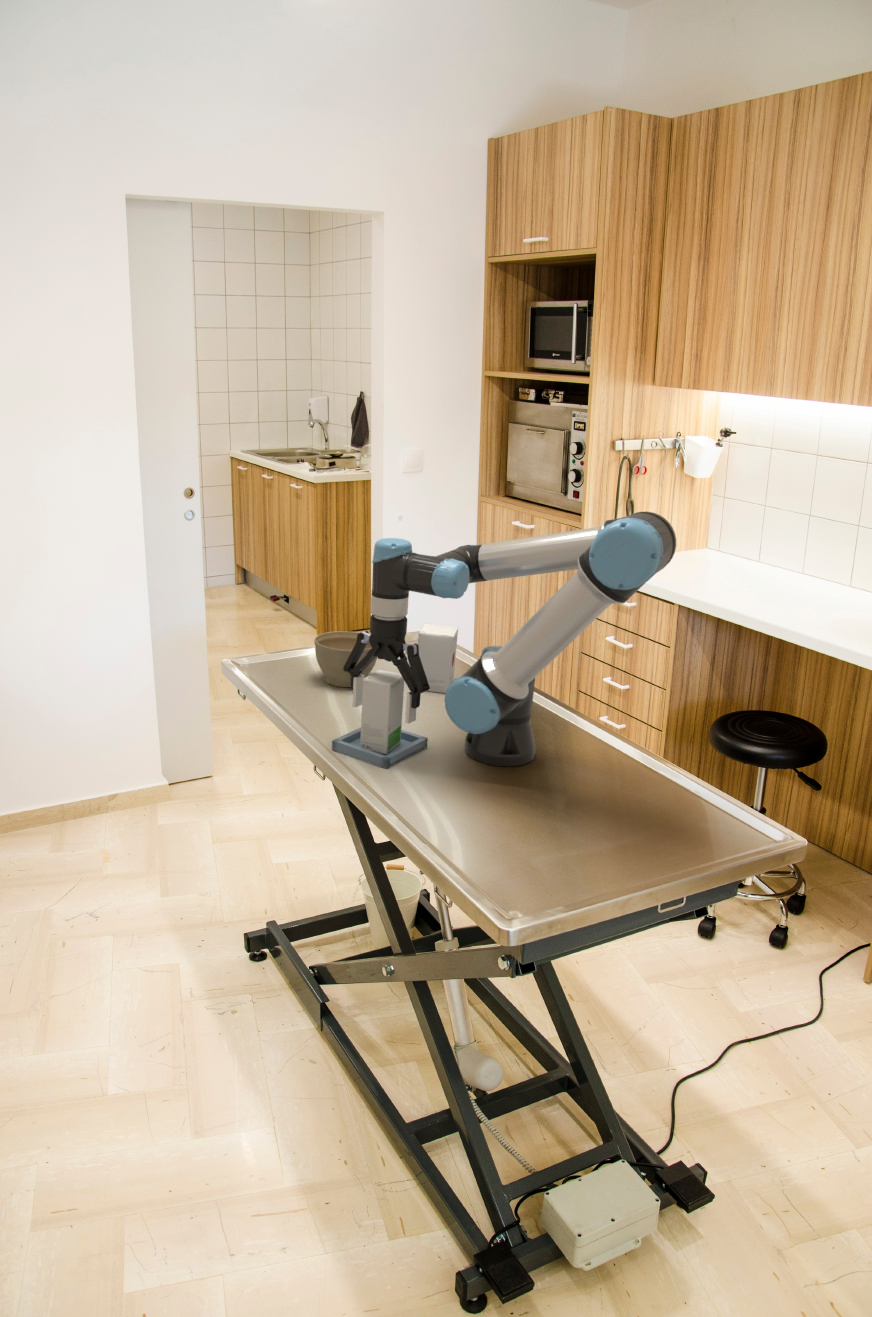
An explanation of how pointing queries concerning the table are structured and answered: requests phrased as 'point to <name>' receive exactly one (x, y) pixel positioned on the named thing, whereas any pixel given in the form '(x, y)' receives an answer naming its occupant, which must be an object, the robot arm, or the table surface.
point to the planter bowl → (338, 656)
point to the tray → (405, 749)
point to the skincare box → (382, 711)
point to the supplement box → (438, 655)
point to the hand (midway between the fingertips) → (383, 713)
